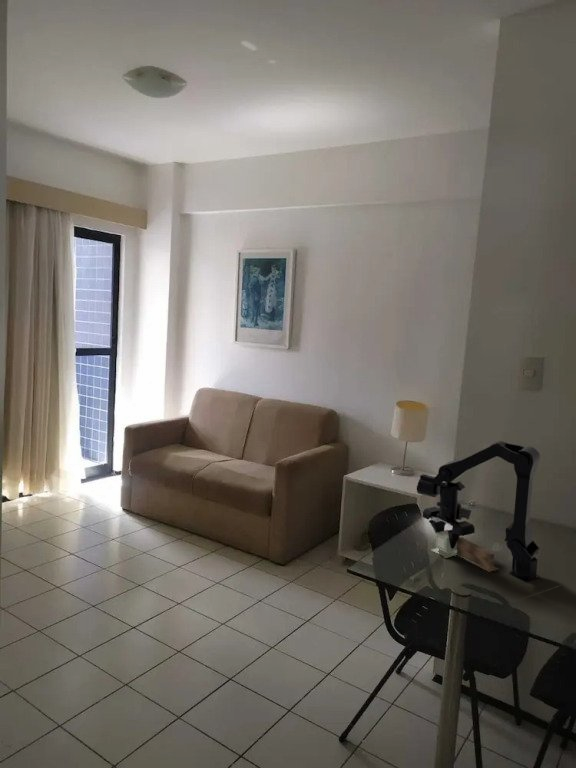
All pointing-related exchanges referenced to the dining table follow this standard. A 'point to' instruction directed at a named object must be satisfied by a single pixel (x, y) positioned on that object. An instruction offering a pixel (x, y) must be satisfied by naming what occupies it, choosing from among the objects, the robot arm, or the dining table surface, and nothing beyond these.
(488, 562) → the walnut screen
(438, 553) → the sage pad
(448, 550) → the sage block
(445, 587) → the dining table surface
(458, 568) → the dining table surface
